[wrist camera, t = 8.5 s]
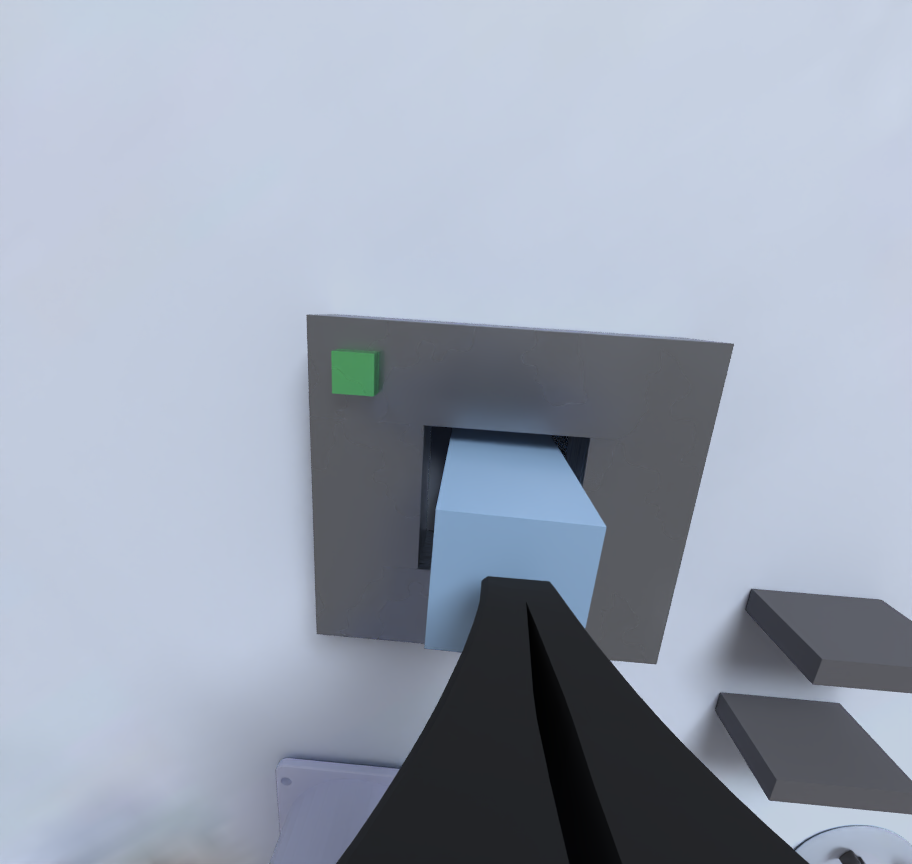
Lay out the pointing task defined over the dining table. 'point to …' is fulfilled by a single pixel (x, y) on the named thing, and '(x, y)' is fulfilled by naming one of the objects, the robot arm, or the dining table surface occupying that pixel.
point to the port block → (513, 410)
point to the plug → (507, 528)
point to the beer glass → (856, 847)
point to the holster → (822, 723)
